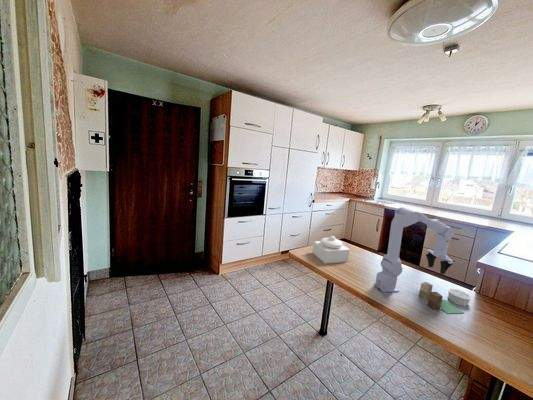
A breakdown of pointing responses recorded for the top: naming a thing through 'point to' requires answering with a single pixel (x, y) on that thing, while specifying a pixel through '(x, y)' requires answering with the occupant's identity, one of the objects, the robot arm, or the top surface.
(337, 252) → the white lidded box
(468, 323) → the top surface
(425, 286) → the maple block
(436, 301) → the walnut block
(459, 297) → the ramekin
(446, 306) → the mat
